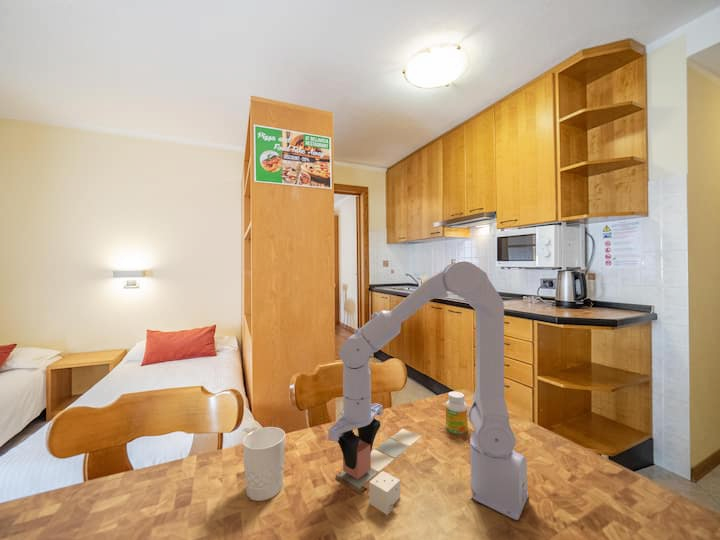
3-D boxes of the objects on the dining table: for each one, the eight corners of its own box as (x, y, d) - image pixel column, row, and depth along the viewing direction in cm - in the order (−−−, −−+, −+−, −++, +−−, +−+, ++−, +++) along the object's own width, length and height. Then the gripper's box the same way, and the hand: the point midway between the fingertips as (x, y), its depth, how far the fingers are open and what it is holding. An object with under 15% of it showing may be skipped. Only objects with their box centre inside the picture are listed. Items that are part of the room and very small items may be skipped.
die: (400, 502, 54) (400, 479, 55) (387, 515, 51) (387, 492, 52) (382, 491, 57) (382, 470, 57) (369, 504, 54) (369, 481, 54)
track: (424, 439, 74) (424, 436, 74) (361, 494, 56) (361, 490, 56) (400, 430, 79) (400, 427, 79) (335, 478, 61) (335, 474, 61)
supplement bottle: (445, 435, 76) (445, 397, 77) (446, 425, 82) (445, 389, 82) (468, 438, 75) (467, 399, 75) (467, 427, 80) (466, 391, 80)
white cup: (266, 470, 64) (266, 423, 64) (294, 483, 60) (293, 433, 60) (234, 494, 57) (233, 441, 57) (262, 510, 53) (262, 453, 53)
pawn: (370, 469, 61) (370, 436, 61) (357, 479, 58) (357, 445, 58) (356, 461, 64) (355, 430, 64) (343, 470, 61) (342, 438, 61)
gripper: (365, 380, 69) (365, 438, 69) (317, 400, 58) (318, 470, 58) (390, 387, 65) (390, 450, 64) (343, 411, 54) (343, 487, 53)
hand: (358, 461), depth 61 cm, fingers closed on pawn, 4 cm apart
